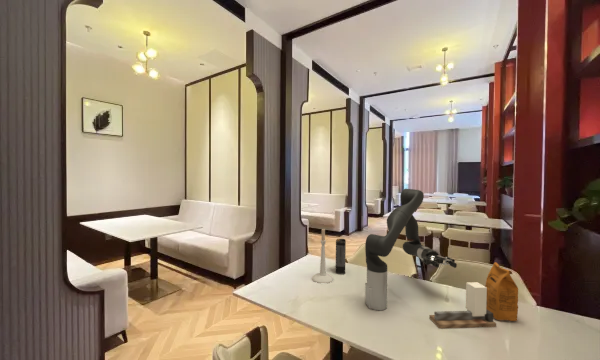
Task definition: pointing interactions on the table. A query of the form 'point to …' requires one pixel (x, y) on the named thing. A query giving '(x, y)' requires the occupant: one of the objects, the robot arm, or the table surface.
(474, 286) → the tall cream pillar
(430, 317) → the rail base
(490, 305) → the coffee package
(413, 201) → the robot arm
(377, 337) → the table surface
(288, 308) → the table surface
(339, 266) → the electronic device
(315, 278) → the candlestick
